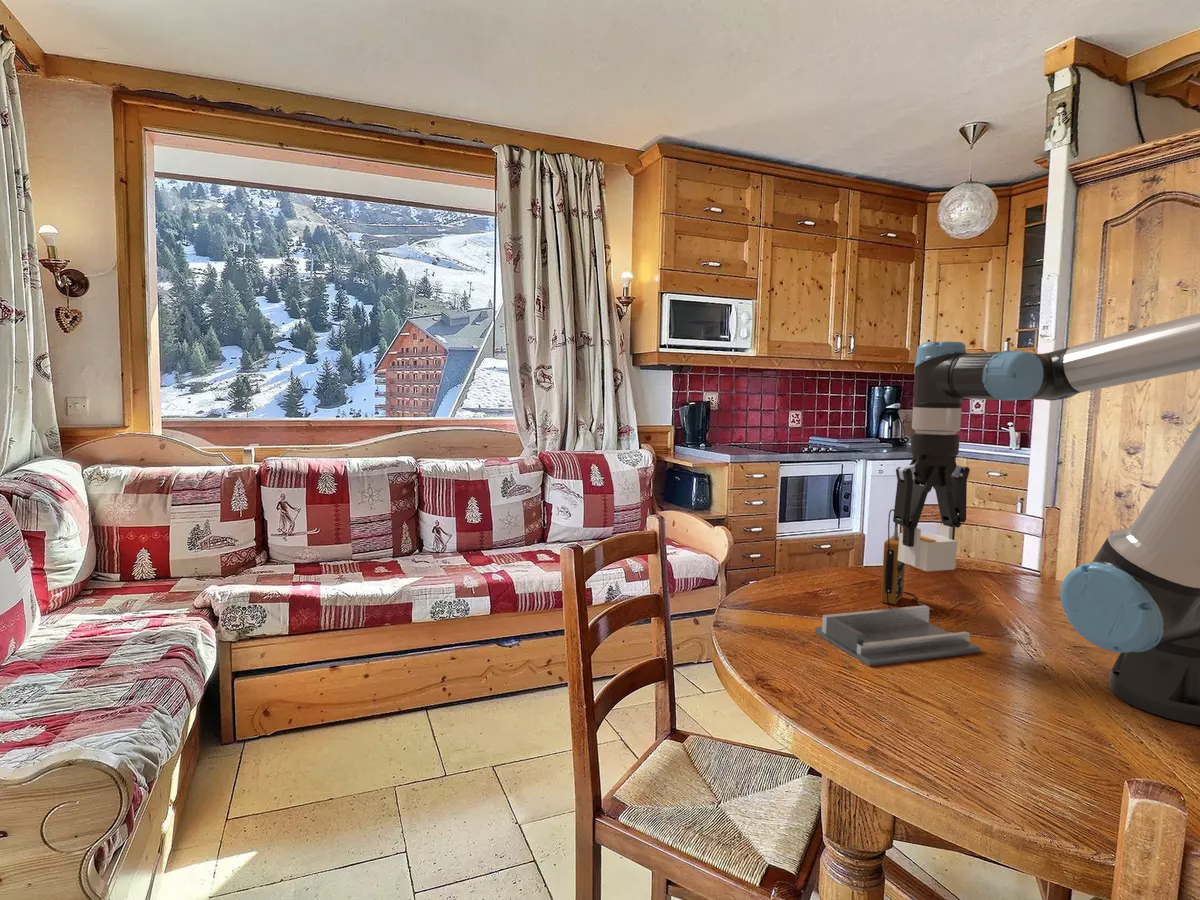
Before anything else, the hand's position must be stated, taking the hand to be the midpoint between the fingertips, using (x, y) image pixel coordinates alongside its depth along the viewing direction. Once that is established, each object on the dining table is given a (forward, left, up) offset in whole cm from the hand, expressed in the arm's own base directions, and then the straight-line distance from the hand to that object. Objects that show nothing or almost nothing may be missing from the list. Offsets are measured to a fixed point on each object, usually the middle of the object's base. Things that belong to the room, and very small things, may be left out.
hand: (927, 562), depth 118 cm
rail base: (0, +6, -14) cm, 15 cm away
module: (0, 0, 0) cm, 0 cm away
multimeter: (+17, -12, -14) cm, 25 cm away
